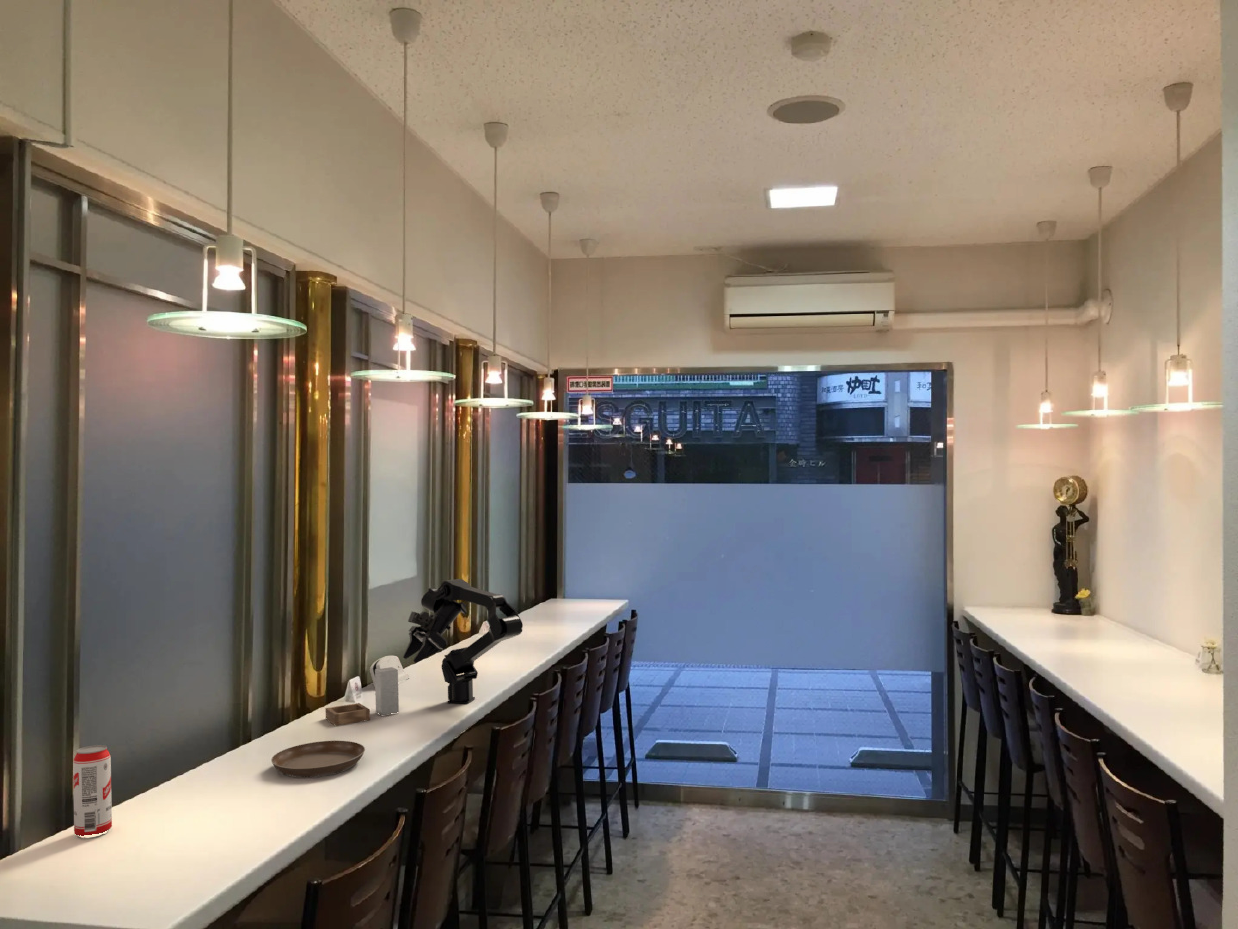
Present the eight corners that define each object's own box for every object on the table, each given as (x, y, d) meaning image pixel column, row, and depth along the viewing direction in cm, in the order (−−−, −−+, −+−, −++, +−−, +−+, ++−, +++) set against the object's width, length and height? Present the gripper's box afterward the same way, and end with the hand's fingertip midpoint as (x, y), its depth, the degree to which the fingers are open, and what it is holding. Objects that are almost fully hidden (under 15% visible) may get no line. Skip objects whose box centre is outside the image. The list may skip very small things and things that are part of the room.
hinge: (389, 689, 297) (378, 659, 298) (376, 694, 298) (365, 664, 299) (410, 678, 314) (400, 650, 315) (398, 682, 314) (387, 654, 315)
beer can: (71, 842, 172) (70, 755, 173) (76, 831, 178) (75, 747, 178) (110, 836, 175) (108, 750, 175) (113, 825, 180) (112, 742, 181)
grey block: (392, 710, 269) (391, 667, 269) (398, 713, 265) (397, 669, 265) (375, 713, 266) (374, 669, 266) (381, 716, 262) (380, 672, 262)
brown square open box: (359, 713, 266) (359, 703, 266) (369, 720, 258) (369, 709, 258) (325, 718, 261) (325, 708, 261) (335, 725, 253) (335, 714, 253)
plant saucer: (327, 785, 203) (327, 769, 203) (251, 777, 210) (251, 762, 210) (383, 758, 222) (382, 744, 222) (311, 751, 229) (311, 738, 229)
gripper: (413, 599, 285) (379, 639, 279) (435, 603, 269) (399, 646, 263) (439, 622, 289) (406, 662, 283) (462, 627, 273) (427, 670, 267)
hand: (409, 660), depth 274 cm, fingers open, 9 cm apart
